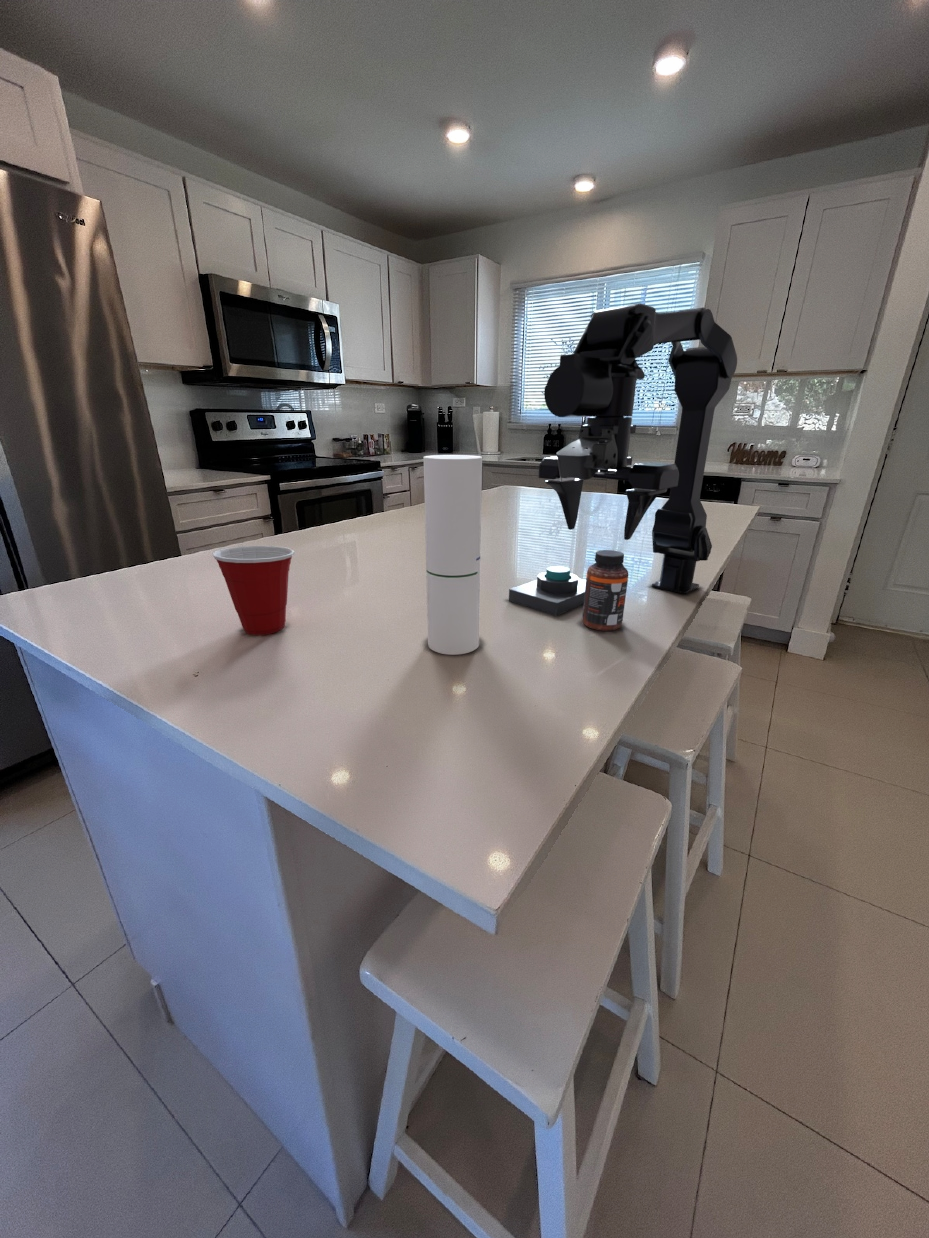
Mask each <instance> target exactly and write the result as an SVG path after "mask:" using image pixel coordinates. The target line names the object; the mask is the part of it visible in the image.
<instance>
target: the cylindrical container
mask: <svg viewBox="0 0 929 1238" xmlns="http://www.w3.org/2000/svg"><path fill="white" fill-rule="evenodd" d="M482 482H483V456H481V455H472V454H432V455H424V456H423V491H424V493H423V494H424V495H423V496H424V497H423V498H424V529H425V531H424V535H425V565H426V566H425V570H426V572H425V573H426V575H425V577H426V611H427V613H426V618H427V621H426V622H427V646H428V648H429V649H430V650H432V651H433V652H435V653H438V654H443V655H448V656H449V655H450V656H451V655H452V656H455V655H457V656H459V655H465V654H468V653H471V652H473V651H476V650H477V649H478V648H479V646H480V613H481V612H480V611H481V608H480V607H481V605H480V604H481V551H482V550H481V549H482V548H481V545H482V492H483V489H482V486H483V483H482Z"/></svg>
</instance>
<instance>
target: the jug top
mask: <svg viewBox="0 0 929 1238" xmlns="http://www.w3.org/2000/svg"><path fill="white" fill-rule="evenodd" d="M585 586H586V579H585V578H580V577H579V576H578V575H577V574H575V573H573V572H570V579H569V580H563V581H557V580H550V579H547V578H546V571H542V572H540V573H538V574H537V576H536V579H534V580H531V581H529V582H526V583H523V584H520V585H517V586H514V587H511V588H509V589H508V602H511V603H514V604H518V605H521V606H524V607H527V608H530V609H533V610H537V611H539V612H543V613H546V614H550V615H553V616H556V617H557V616H559V615H561V614H564V613H567V612H569V611H571V610H573V609H575V608H578V607H581V606H583V605H584V596H585Z"/></svg>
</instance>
